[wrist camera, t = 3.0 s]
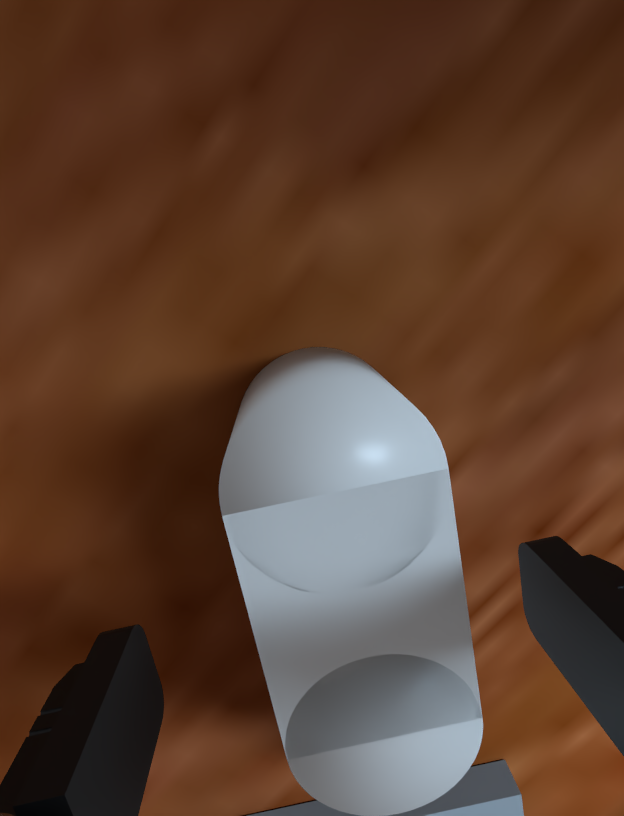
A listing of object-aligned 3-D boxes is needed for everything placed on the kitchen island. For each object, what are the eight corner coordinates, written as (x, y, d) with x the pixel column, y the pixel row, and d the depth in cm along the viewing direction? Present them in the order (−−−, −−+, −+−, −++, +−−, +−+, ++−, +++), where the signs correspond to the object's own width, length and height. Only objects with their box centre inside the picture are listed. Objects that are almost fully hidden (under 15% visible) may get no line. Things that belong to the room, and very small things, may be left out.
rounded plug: (382, 331, 13) (433, 356, 9) (443, 708, 16) (502, 861, 12) (220, 365, 13) (192, 405, 9) (312, 737, 16) (324, 901, 12)
